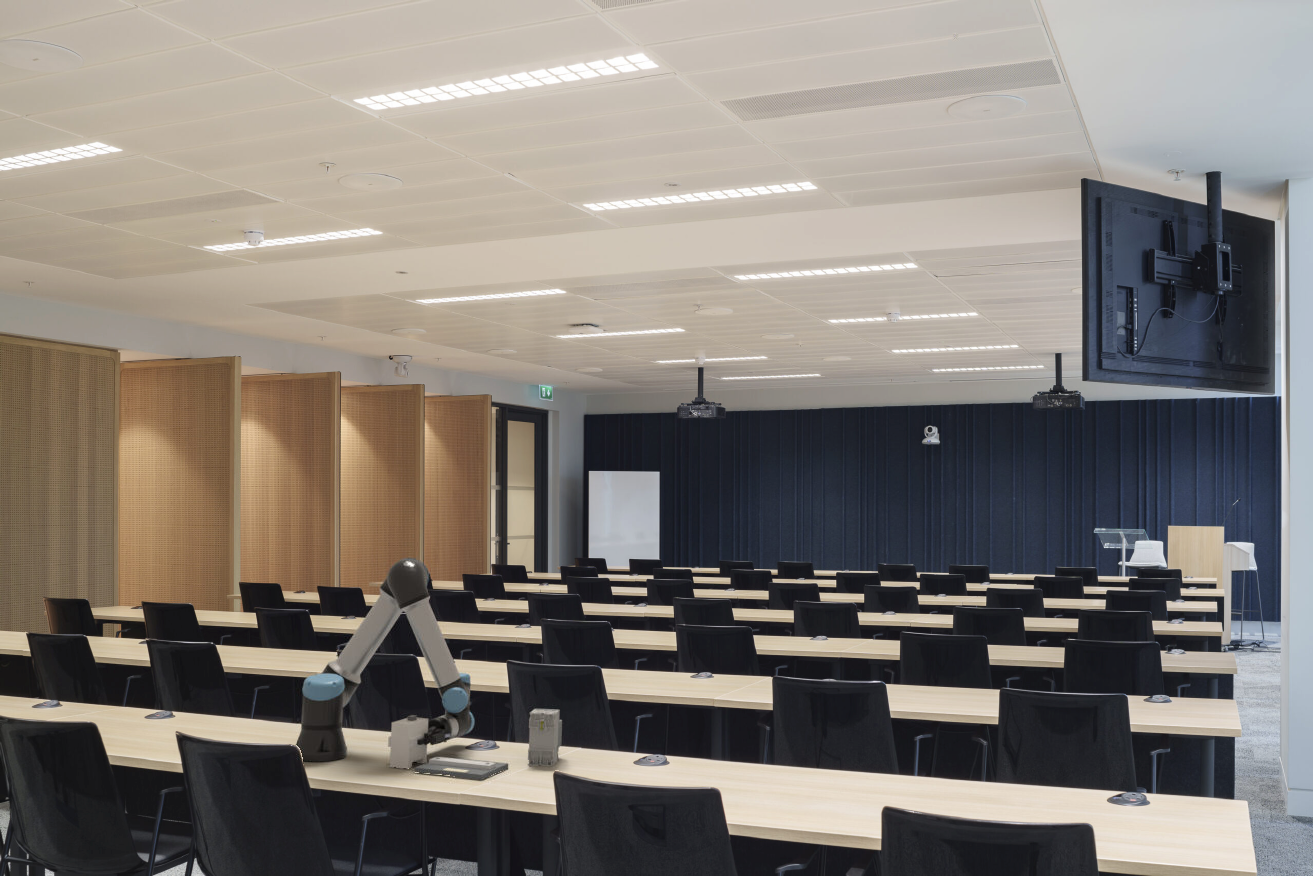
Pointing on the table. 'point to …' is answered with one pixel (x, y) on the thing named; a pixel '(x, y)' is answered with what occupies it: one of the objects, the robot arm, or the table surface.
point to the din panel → (461, 767)
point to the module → (407, 742)
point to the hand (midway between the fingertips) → (399, 743)
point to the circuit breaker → (544, 736)
